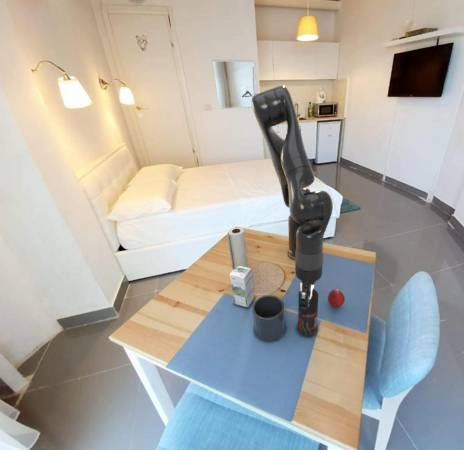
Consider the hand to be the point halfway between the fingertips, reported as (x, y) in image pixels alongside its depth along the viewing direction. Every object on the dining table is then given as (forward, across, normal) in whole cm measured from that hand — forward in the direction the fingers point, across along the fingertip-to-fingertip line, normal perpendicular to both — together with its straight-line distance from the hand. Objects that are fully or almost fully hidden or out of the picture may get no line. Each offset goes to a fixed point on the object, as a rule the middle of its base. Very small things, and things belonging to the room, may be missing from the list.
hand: (307, 303), depth 77 cm
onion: (+12, -12, +8) cm, 19 cm away
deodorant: (+12, 0, 0) cm, 12 cm away
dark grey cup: (+12, +3, -12) cm, 17 cm away
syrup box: (+12, -6, -25) cm, 28 cm away
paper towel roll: (+12, -20, -33) cm, 40 cm away
